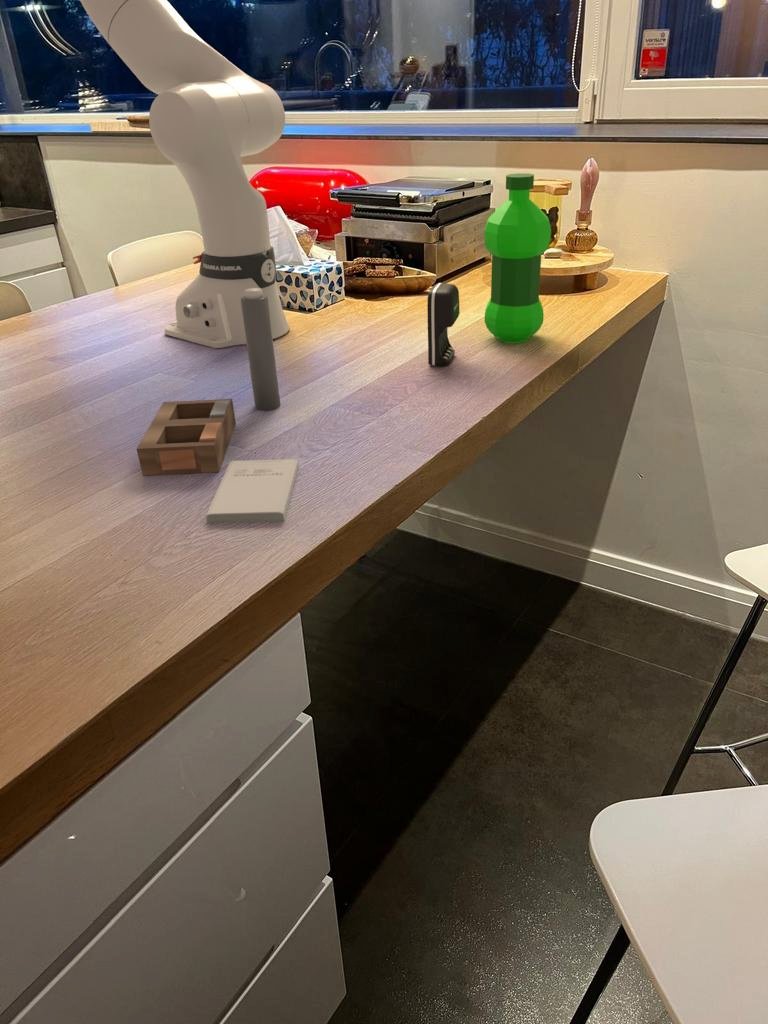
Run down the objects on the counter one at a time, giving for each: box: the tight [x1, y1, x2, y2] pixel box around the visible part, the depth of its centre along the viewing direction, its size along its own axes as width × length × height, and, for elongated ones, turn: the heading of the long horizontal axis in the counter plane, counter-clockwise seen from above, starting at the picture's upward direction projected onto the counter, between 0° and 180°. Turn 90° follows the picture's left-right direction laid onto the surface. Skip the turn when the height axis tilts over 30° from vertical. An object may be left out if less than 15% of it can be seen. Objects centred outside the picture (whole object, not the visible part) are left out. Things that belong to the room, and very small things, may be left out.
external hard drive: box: [205, 458, 300, 524], centre depth 87 cm, size 2×8×12 cm
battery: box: [427, 282, 460, 367], centre depth 118 cm, size 7×4×11 cm, turn 165°
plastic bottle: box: [483, 172, 552, 344], centre depth 123 cm, size 10×10×25 cm
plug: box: [241, 288, 281, 412], centre depth 104 cm, size 4×4×16 cm
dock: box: [136, 398, 237, 477], centre depth 97 cm, size 14×9×4 cm, turn 1°
